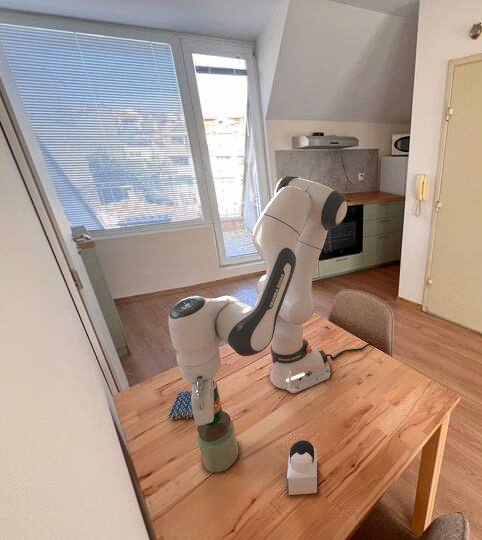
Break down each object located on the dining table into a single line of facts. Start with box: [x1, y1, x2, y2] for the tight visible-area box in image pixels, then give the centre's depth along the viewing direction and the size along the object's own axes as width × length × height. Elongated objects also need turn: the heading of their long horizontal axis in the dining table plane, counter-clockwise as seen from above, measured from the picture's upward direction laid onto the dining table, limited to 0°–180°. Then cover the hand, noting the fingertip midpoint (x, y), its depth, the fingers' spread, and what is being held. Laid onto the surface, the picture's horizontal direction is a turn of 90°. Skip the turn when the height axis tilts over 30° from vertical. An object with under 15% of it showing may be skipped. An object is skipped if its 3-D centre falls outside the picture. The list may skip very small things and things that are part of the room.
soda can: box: [205, 379, 223, 426], centre depth 73 cm, size 5×5×12 cm
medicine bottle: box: [286, 439, 318, 496], centre depth 74 cm, size 7×7×12 cm
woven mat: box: [168, 390, 194, 420], centre depth 96 cm, size 10×11×2 cm
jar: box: [196, 410, 239, 473], centre depth 79 cm, size 9×9×13 cm
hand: (210, 405), depth 74 cm, fingers closed on soda can, 5 cm apart
